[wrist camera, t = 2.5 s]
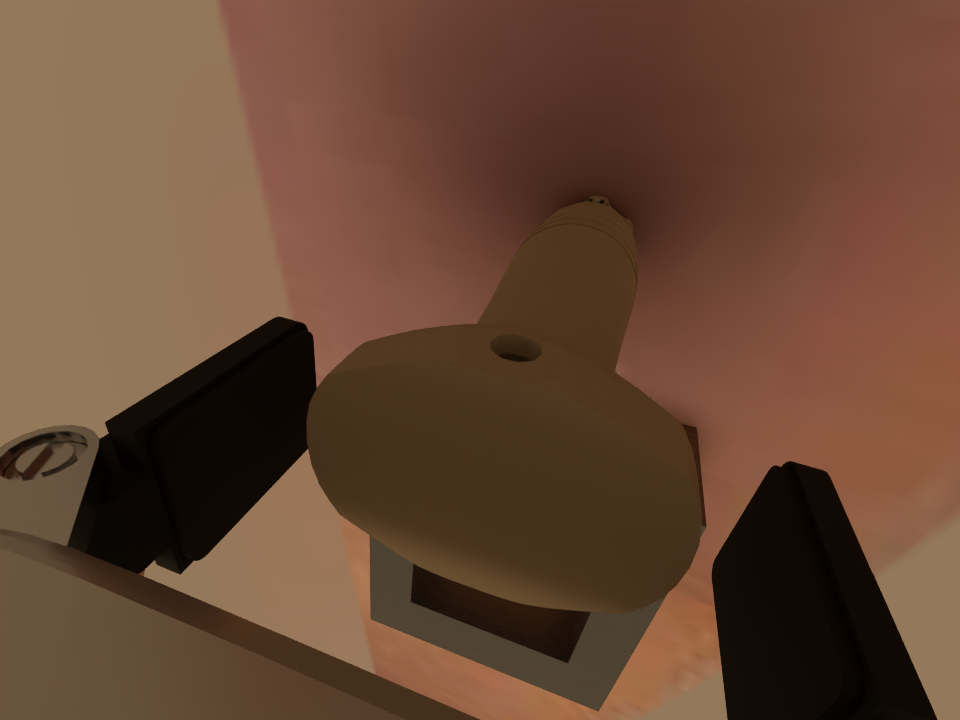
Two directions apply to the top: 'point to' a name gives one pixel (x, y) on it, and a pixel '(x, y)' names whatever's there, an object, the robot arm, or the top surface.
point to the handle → (519, 436)
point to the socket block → (512, 625)
